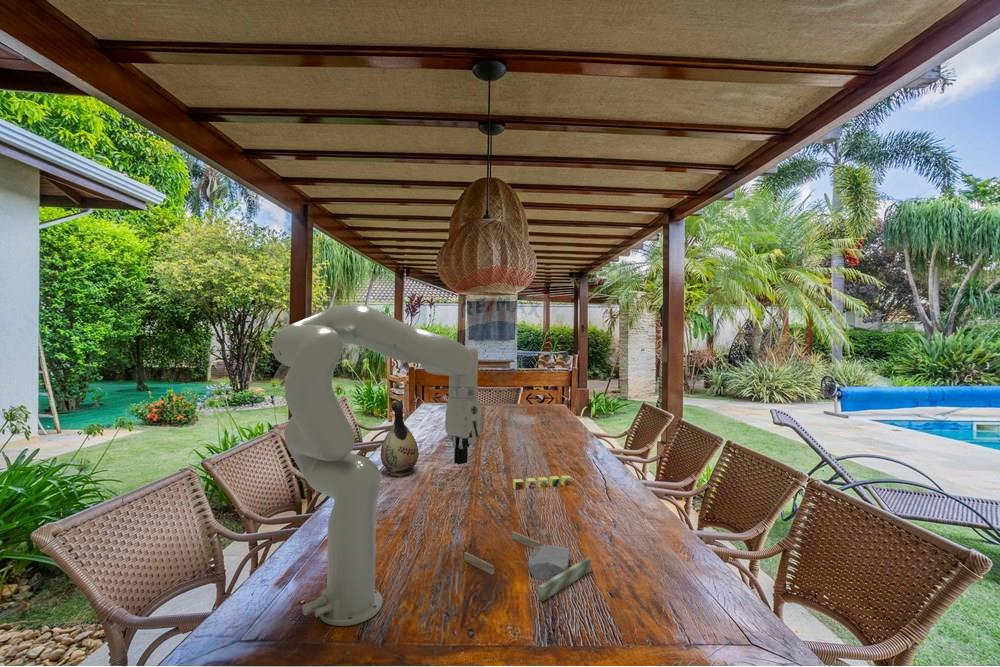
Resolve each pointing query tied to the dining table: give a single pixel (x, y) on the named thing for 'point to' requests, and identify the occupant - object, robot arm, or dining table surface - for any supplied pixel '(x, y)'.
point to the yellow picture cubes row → (542, 482)
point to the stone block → (548, 561)
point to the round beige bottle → (399, 446)
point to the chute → (550, 585)
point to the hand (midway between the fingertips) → (460, 462)
